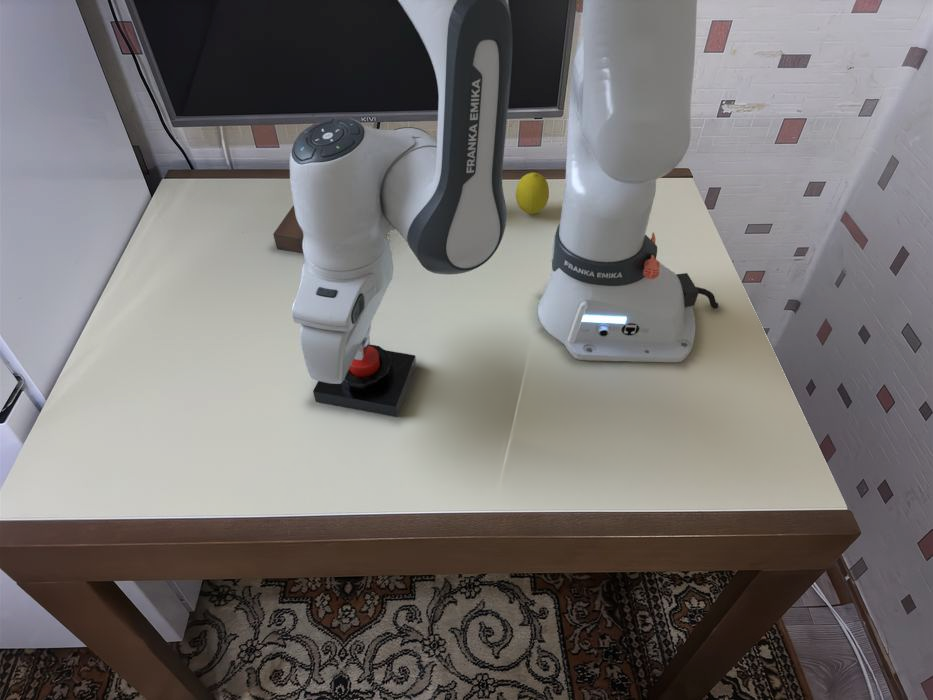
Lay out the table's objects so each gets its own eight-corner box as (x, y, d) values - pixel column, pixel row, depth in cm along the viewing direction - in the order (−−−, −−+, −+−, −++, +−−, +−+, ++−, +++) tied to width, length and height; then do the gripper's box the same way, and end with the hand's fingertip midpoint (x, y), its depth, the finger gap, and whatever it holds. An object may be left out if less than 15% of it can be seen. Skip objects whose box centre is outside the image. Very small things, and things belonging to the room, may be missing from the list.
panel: (372, 224, 114) (370, 208, 111) (352, 260, 107) (350, 244, 105) (300, 213, 116) (297, 198, 113) (276, 249, 109) (272, 233, 107)
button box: (416, 366, 92) (414, 345, 89) (397, 417, 86) (394, 397, 83) (339, 352, 93) (335, 332, 90) (315, 402, 87) (310, 382, 84)
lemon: (549, 207, 117) (554, 167, 111) (542, 225, 114) (546, 184, 108) (519, 202, 118) (521, 161, 112) (510, 219, 115) (513, 179, 109)
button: (383, 357, 88) (382, 347, 87) (374, 379, 85) (372, 370, 84) (354, 352, 88) (353, 342, 87) (344, 374, 86) (342, 365, 84)
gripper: (352, 209, 82) (363, 293, 92) (283, 322, 69) (305, 407, 79) (401, 216, 81) (407, 301, 91) (342, 333, 68) (356, 417, 78)
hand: (360, 351), depth 85 cm, fingers closed
